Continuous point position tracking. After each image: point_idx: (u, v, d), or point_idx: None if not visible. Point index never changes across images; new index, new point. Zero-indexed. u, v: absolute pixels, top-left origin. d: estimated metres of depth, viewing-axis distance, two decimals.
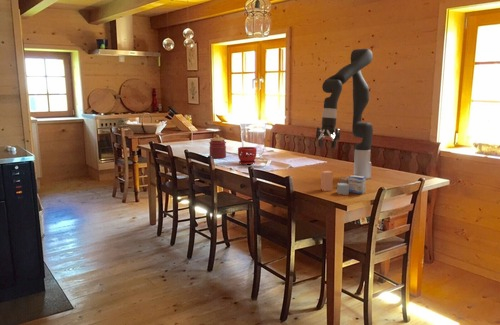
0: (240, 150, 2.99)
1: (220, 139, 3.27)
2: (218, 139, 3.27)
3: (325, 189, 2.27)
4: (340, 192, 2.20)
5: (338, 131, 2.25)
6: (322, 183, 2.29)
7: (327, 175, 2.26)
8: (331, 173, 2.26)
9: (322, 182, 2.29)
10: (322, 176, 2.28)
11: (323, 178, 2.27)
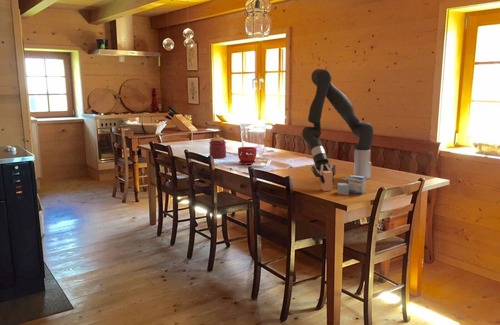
0: (240, 150, 2.99)
1: (220, 139, 3.27)
2: (218, 139, 3.27)
3: (325, 189, 2.27)
4: (340, 192, 2.20)
5: (312, 169, 2.30)
6: (322, 183, 2.29)
7: (327, 175, 2.26)
8: (331, 173, 2.26)
9: None
10: None
11: None
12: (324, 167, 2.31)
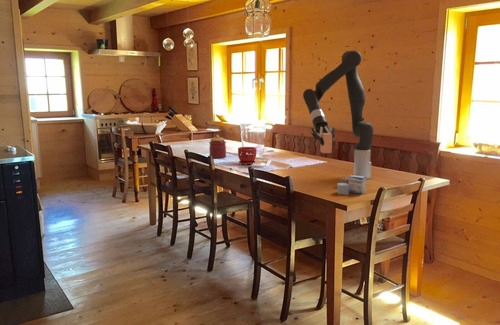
0: (240, 150, 2.99)
1: (220, 139, 3.27)
2: (218, 139, 3.27)
3: (324, 151, 2.25)
4: (340, 192, 2.20)
5: (311, 131, 2.28)
6: (321, 145, 2.27)
7: (327, 137, 2.24)
8: (330, 135, 2.25)
9: None
10: None
11: (323, 140, 2.25)
12: (323, 129, 2.29)
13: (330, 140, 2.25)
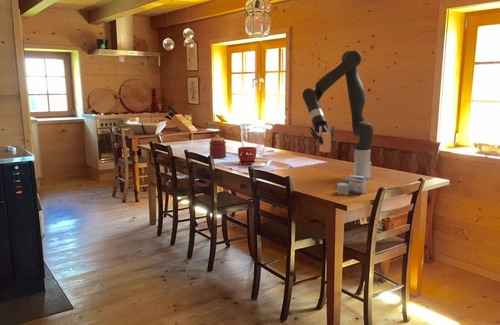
0: (240, 150, 2.99)
1: (220, 139, 3.27)
2: (218, 139, 3.27)
3: (323, 150, 2.26)
4: (340, 192, 2.20)
5: (311, 131, 2.29)
6: (320, 144, 2.28)
7: (326, 136, 2.25)
8: (329, 134, 2.25)
9: None
10: None
11: (322, 139, 2.26)
12: (322, 129, 2.30)
13: (329, 139, 2.26)
